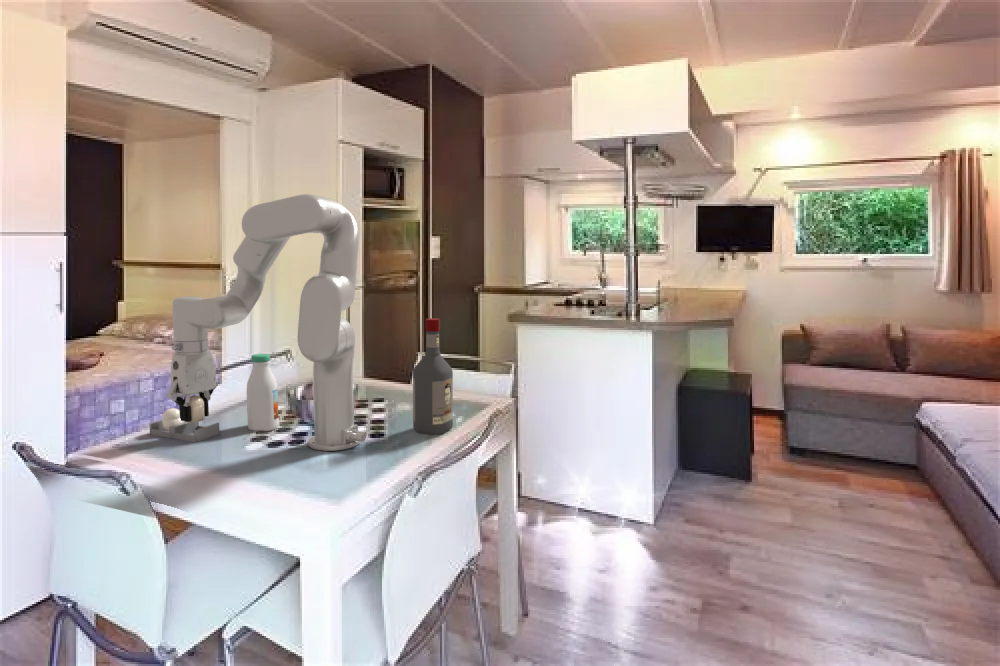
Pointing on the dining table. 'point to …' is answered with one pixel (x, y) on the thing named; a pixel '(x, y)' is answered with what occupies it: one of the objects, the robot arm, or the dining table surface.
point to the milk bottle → (262, 395)
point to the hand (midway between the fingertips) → (194, 417)
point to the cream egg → (170, 418)
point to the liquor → (432, 387)
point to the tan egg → (196, 408)
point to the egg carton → (185, 431)
